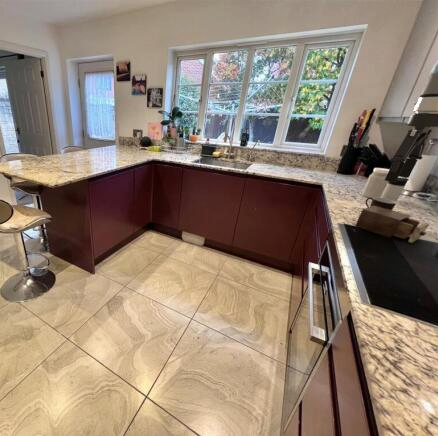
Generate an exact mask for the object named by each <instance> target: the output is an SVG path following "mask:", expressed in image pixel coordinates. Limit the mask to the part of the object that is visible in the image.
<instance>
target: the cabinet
mask: <svg viewBox="0 0 438 436" xmlns="http://www.w3.org/2000/svg"><path fill="white" fill-rule="evenodd" d="M370 206H371V205H370ZM370 206H369V207H365V208H363V209H362V210H361V212H360V215H359V217H358V219H357V221H356V223H355V225H354V227H357V228H359V229H362V230H365V231H368V232H371V233H374V234H376V233H377V235H379V234H380V235H379V236H382V235H383V237H385V238H388V239H391V238H394V237H395V236H394V235H393V233H394V231H395V230H396V228H397V226H398V224H399V222H400V221H402V220H404V219H406V218H409V219H411V215H410V214H407V213H403V212H399V211H396V210H394V209H393V210H389V209H385V208H382V207H378V206H371V207H370Z"/></svg>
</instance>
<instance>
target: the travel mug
mask: <svg viewBox="0 0 438 436" xmlns="http://www.w3.org/2000/svg"><path fill="white" fill-rule="evenodd" d="M409 180H410V179H409V178H405V177H398V179H397V181H396V182H390V181H388V184H387V186H386V188H385V190H384V192H383V194H382V196H381V198H385V199H389V200H393V201H395V202H397V203H398V201H399V199H400V197H401V195H402V193H403V192H404V189H405V187H406V186H407V185H406V184H407V183H408V181H409ZM394 208H395V206H394V207H393V209H392V210H393V211H394Z"/></svg>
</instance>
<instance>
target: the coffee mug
mask: <svg viewBox="0 0 438 436" xmlns="http://www.w3.org/2000/svg"><path fill="white" fill-rule="evenodd" d="M369 200H371V203H370V205H369V204H368V201H369ZM397 203H398V201H397V202H395V201H393V200H389V199H385V198H379V197H374V198H368V197H367V198H366V200H365V205H366V208H368V207H371V206H378V207H382V208H385V209H389V210H392V209H393V210H394V208H395V206H396V205H397ZM393 207H394V208H393Z"/></svg>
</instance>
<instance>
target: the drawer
mask: <svg viewBox="0 0 438 436" xmlns="http://www.w3.org/2000/svg"><path fill="white" fill-rule="evenodd" d="M420 223H421V221H419V220H416V219H412V218H406V219H404V220H402V221H400V222H399V224H398V226H397V228H396V230H395V231H394V233H393V235H394V237H397V238H399V239H403V240H406V239H407V238H408V240H407V242H408V243H411V244H413V243H414V242H416V241H418V240H420V239H421V238H422V237H425V236H426V234H427V232H426V231H427V229H428V227H429V226H430V222H424V223H422V224H420Z"/></svg>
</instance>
